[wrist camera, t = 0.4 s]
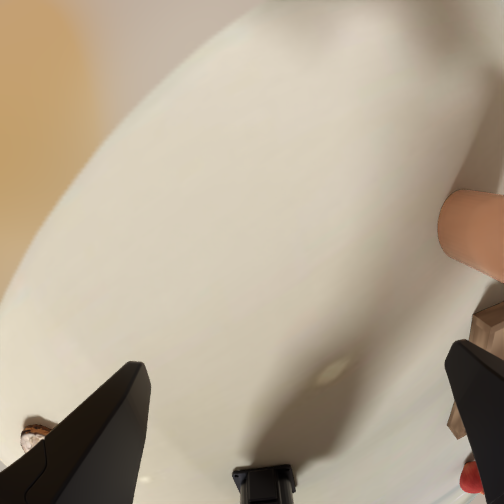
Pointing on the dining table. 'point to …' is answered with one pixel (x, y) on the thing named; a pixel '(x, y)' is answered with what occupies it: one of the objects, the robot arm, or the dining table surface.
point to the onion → (471, 479)
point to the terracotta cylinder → (474, 230)
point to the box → (490, 339)
